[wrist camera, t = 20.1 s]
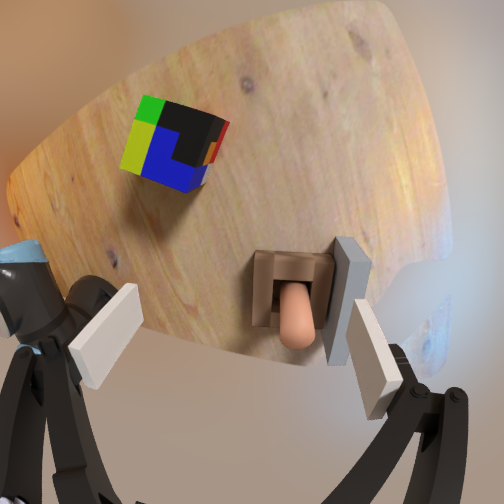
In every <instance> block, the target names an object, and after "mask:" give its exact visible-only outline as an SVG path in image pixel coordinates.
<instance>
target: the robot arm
mask: <svg viewBox="0 0 504 504" xmlns="http://www.w3.org/2000/svg"><path fill="white" fill-rule="evenodd" d="M143 321H144V319H143V314H142V309H141V304H140V299H139V293H138V287H137V284H131V283H126V284H125V285H124V286H123V287H122V288H121V289H120V290H119V291H118V290H117V289H116V288H115V287H114V286H113V285H111V284H110V283H109V282H107V281H106V280H104V279H102V278H100V277H97V276H92V275H88V276H84V277H82V278H80V279H79V280H78V281H76V282H75V283H74V284H73V285H72V287H71V289H70V291H69V294H68V296H67V298H66V300H65V301H64V299H63V297H62V295H61V292H60V290H59V288H58V285H57V283H56V281H55V278H54V276H53V273H52V271H51V268H50V265H49V261H48V259H47V258H46V256H45V254H44V251H43V249H42V246H41V244H40V243H39V242H38V241H37V240H35V239H28V240H25V241H22V242H19V243H16V244H13V245H10V246H7V247H4V248H2V249H0V336H2V337H5V338H9V337H11V336H12V335H13V334H15V335H16V337H17V339H18V341H19V342H20V345H18V346H17V349H16V352H15V354H14V356H13V358H12V361H11V364H10V366H9V369H8V372H7V375H6V378H5V381H4V384H3V387H2V390H1V393H0V504H42V458H43V442H44V433H45V424H46V416H47V424H48V431H49V437H50V443H51V447H52V453H53V458H54V462H55V467H56V473H55V474H53V476H52V478H53V483H54V487H55V490H56V494H57V498H58V501H59V504H122V503H121V501H120V499H119V498H118V497H117V495H116V494H115V492H114V490H113V488H112V485H111V483H110V481H109V478H108V476H107V473H106V471H105V468H104V465H103V463H102V460H101V457H100V454H99V451H98V449H97V445H96V442H95V439H94V436H93V432H92V429H91V425H90V422H89V418H88V415H87V411H86V406H85V402H84V398H83V394H82V389H81V386H80V384H79V382H80V381H81V380H82V379H83V381H84V383H85V385H86V386H87V387H90V388H93V389H96V390H98V388H99V387H100V385H101V384H102V382H103V381H104V379H105V377H106V376H107V374H108V373H109V371H110V370H111V368H112V367H113V365H114V364H115V362H116V361H117V359H118V357H119V356H120V355H121V353H122V351H123V350H124V349H125V347H126V346H127V344H128V343H129V341H130V340H131V338H132V337H133V335H134V334H135V332H136V331H137V329H138V328H139V327H140V325H141V324H142V322H143ZM345 337H346V340H347V344H348V347H349V351H350V354H351V358H352V361H353V365H354V369H355V372H356V376H357V380H358V384H359V388H360V391H361V396H362V400H363V404H364V408H365V412H366V417H367V420H374V419H382V418H383V416H384V414H385V413H386V412H387V415H388V419H387V420H386V422H385V423H384V425H383V427H382V428H381V430H380V431H379V433H378V434H377V435H376V437H375V438H374V440H373V441H372V443H371V444H370V445H369V447H368V448H367V450H366V451H365V452H364V454H363V455H362V456H361V458H360V459H359V460H358V462H357V463H356V464H355V465H354V467H353V468H352V469H351V470H350V472H349V473H348V474H347V475H346V476H345V478H344V479H343V480H342V481H341V482H340V484H339V485H338V486H337V487H336V488H335V489H334V490H333V491H332V493H331V494H330V495H329V496H328V497H327V498H326V499H325V500H324V501H323V502H322V503H321V504H370V503H371V501H372V500H373V498H374V497H375V496H376V494H377V493H378V491H379V490H380V489H381V487H382V486H383V484H384V483H385V481H386V480H387V478H388V477H389V475H390V474H391V472H392V470H393V469H394V467H395V466H396V464H397V462H398V461H399V459H400V457H401V456H402V454H403V452H404V450H405V448H406V447H407V445H408V443H409V441H410V439H411V437H412V436H413V433H414V432H419V433H421V436H420V441H419V447H418V451H417V456H416V460H415V464H414V468H413V472H412V476H411V480H410V483H409V486H408V490H407V493H406V496H405V499H404V502H403V504H460V499H461V494H462V488H463V482H464V475H465V467H466V457H467V443H468V396H467V394H466V393H465V391H463V390H462V389H461V388H458V387H451V388H449V389H448V390H447V391H446V392H445V394H438V393H432V392H430V390H429V389H428V387H427V386H425V385H424V384H422V383H418V381H417V378H416V376H415V374H414V372H413V370H412V368H411V365H410V364H409V361H408V359H407V358H406V355H405V353H404V351H403V349H402V348H400V347H399V346H398V345H397V344H387V342H386V339H385V337H384V335H383V333H382V331H381V329H380V326H379V324H378V322H377V320H376V318H375V316H374V314H373V312H372V310H371V308H370V306H369V304H368V302H367V300H366V299H354V303H353V307H352V311H351V316H350V320H349V324H348V328H347V332H346V336H345ZM135 504H144V503H141V502H138V501H136V503H135Z"/></svg>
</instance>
